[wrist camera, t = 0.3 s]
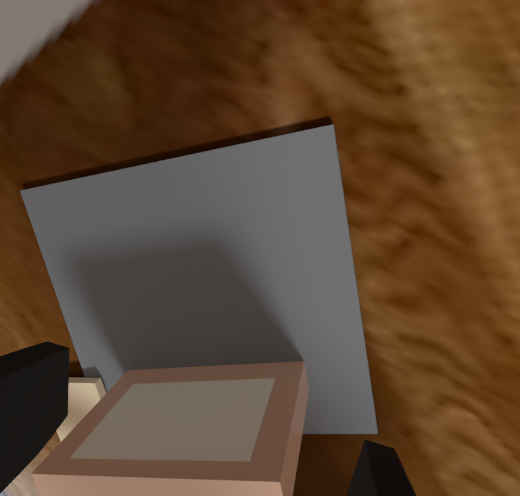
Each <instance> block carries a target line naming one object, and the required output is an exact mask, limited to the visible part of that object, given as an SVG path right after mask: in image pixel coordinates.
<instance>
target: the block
mask: <svg viewBox="0 0 520 496" xmlns="http://www.w3.org/2000/svg"><path fill="white" fill-rule="evenodd" d="M308 395H309V384H308V379H307V374H306V368H305V363H304V361H296V362H277V363H258V364H238V365H219V366H200V367H181V368H161V369H142V370H128V371H127V372H126V373H125V374H124V375H123V376H122V377H121V378H120V379H119V380H118V382H117V383H116V384H115V385H114V386H113V387H112V388H111V389H110V390H109V391H108V392H107V393H106V394H105V395H104V397H103V398H102V399H101V400H100V401H99V402H98V403H97V404H96V405H95V406H94V407H93V408H92V409H91V410H90V411H89V413H88V414H87V415H86V416H85V417H84V418H83V419H82V420H81V421H80V422H79V423H78V424H77V425H76V426H75V428H74V429H73V430H72V431H71V432H70V433H69V434H68V435H67V436H66V437H65V438H64V439H63V440H62V441H61V443H60V444H59V445H58V446H57V447H56V448H55V449H54V450H53V451H52V452H51V453H50V454H49V455H48V456H47V457H46V459H45V460H44V461H43V462H42V463H41V464H40V465H39V466H38V467H37V468H36V469H35V470H34V471H33V472H32V474H31V475H32V477H33V480H34V482H35V485H36V487H37V489H38V492H39V494H40V496H293V490H294V484H295V477H296V471H297V465H298V458H299V452H300V446H301V439H302V433H303V427H304V420H305V414H306V408H307V402H308Z"/></svg>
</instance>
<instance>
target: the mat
mask: <svg viewBox="0 0 520 496" xmlns="http://www.w3.org/2000/svg"><path fill="white" fill-rule="evenodd" d="M20 192H21V195H22V198H23V201H24V204H25V207H26V209H27V212H28V215H29V218H30V221H31V224H32V227H33V230H34V232H35V235H36V238H37V241H38V244H39V247H40V250H41V252H42V255H43V258H44V261H45V264H46V267H47V270H48V273H49V275H50V278H51V281H52V284H53V287H54V290H55V293H56V296H57V298H58V301H59V304H60V307H61V310H62V313H63V316H64V318H65V321H66V324H67V327H68V330H69V333H70V336H71V339H72V341H73V344H74V347H75V350H76V353H77V356H78V359H79V362H80V364H81V367H82V370H83V373H84V376H85V378H101V380H102V383H103V385H104V388H105V391H106V393H107V392H108V391H109V390H110V389H111V388H112V387H113V386H114V385H115V384H116V383H117V382H118V380H119V379H120V378H121V377H122V376H123V375H124V374H125V373H126V372H127V371H128V370H142V369H161V368H181V367H200V366H219V365H238V364H258V363H277V362H296V361H304V363H305V368H306V374H307V379H308V384H309V395H308V402H307V408H306V414H305V420H304V427H303V433H302V434H378V430H377V423H376V416H375V409H374V402H373V395H372V388H371V381H370V374H369V367H368V360H367V353H366V346H365V339H364V332H363V325H362V318H361V311H360V304H359V297H358V291H357V284H356V277H355V270H354V263H353V256H352V249H351V242H350V235H349V228H348V221H347V214H346V207H345V200H344V193H343V186H342V179H341V172H340V165H339V158H338V151H337V144H336V138H335V131H334V124H332V125H328V126H323V127H318V128H313V129H309V130H304V131H299V132H295V133H290V134H285V135H280V136H276V137H271V138H266V139H262V140H257V141H252V142H247V143H243V144H238V145H233V146H229V147H224V148H219V149H214V150H210V151H205V152H200V153H196V154H191V155H186V156H181V157H177V158H172V159H167V160H162V161H158V162H153V163H148V164H144V165H139V166H134V167H129V168H125V169H120V170H115V171H111V172H106V173H101V174H96V175H92V176H87V177H82V178H78V179H73V180H68V181H63V182H59V183H54V184H49V185H45V186H40V187H35V188H30V189H26V190H21V191H20Z"/></svg>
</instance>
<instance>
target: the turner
mask: <svg viewBox="0 0 520 496" xmlns="http://www.w3.org/2000/svg"><path fill="white" fill-rule="evenodd" d="M105 394H106V391H105V388H104V385H103V383H102V380H101V378H80V377H69V387H68V416H67V417H66V419H65V420H64V421H63V423H62V424H61V425H60V427H59V428H58V429H57V433H58V436H59V438H60V441H62V440H63V439H64V438H65V437H66V436H67V435H68V434H69V433H70V432H71V431H72V430H73V429H74V428H75V426H76V425H77V424H78V423H79V422H80V421H81V420H82V419H83V418H84V417H85V416H86V415H87V414H88V413H89V411H90V410H91V409H92V408H93V407H94V406H95V405H96V404H97V403H98V402H99V401H100V400H101V399H102V398H103V397H104V395H105Z"/></svg>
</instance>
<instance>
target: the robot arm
mask: <svg viewBox="0 0 520 496" xmlns="http://www.w3.org/2000/svg"><path fill="white" fill-rule="evenodd" d="M68 387H69V348H67V347H64V346H61V345H57V344H54V343H51V342H44V343H41V344H37V345H34V346H30V347H27V348H24V349H21V350H18V351H15V352H12V353H9V354H6V355H3V356H0V493H1V492H2V491H3V490H4V489H5V488H6V487H7V486H8V485H9V484H10V483H11V482H12V481H13V480H14V479H15V478H16V477H17V476H18V475H19V474H20V472H21V471H22V470H23V469H24V468H25V467H26V466H27V465H28V464H29V463H30V462H31V461H32V460H33V459H34V458H35V457H36V456H37V455H38V453H39V452H40V451H41V450H42V448H43V447H44V446H45V445H46V443H47V442H48V441H49V440H50V438H51V437H52V436H53V435H54V433H55V432H56V431H57V429H58V428H59V427H60V425H61V424H62V423H63V421H64V420H65V419H66V417H67V416H68ZM346 496H416V494H415V492H414V490H413V487H412V485H411V483H410V481H409V479H408V477H407V475H406V472H405V470H404V468H403V466H402V464H401V461H400V459H399V457H398V455H397V453H396V451H395V450H394V449H393V448H390V447H387V446H384V445H380V444H377V443H374V442H371V441H368V440H365V441H364V444H363V447H362V450H361V453H360V456H359V459H358V462H357V465H356V468H355V471H354V474H353V477H352V480H351V483H350V486H349V489H348V492H347V495H346Z"/></svg>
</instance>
